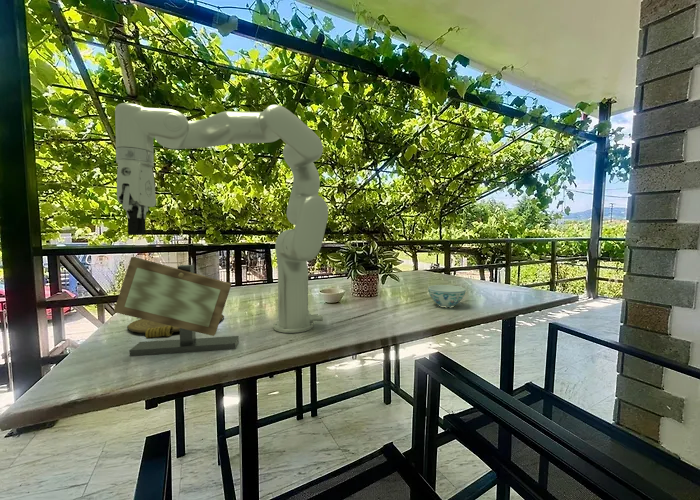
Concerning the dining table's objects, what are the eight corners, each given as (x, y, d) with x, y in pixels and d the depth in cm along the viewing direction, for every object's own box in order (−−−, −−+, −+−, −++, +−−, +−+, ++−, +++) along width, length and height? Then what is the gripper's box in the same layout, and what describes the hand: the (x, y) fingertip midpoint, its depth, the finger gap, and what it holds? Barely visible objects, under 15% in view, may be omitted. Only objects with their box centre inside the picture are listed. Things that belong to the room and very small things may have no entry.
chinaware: (471, 311, 124) (471, 291, 123) (432, 310, 124) (433, 291, 123) (458, 302, 139) (458, 284, 138) (424, 302, 139) (424, 284, 138)
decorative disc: (227, 305, 125) (217, 323, 96) (228, 314, 125) (217, 334, 96) (145, 310, 117) (107, 331, 88) (145, 319, 117) (107, 343, 88)
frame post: (238, 341, 89) (237, 263, 88) (235, 348, 83) (233, 266, 82) (140, 347, 84) (137, 265, 83) (129, 356, 78) (126, 268, 77)
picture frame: (215, 333, 84) (231, 283, 84) (213, 336, 82) (230, 284, 82) (117, 310, 79) (134, 256, 79) (112, 312, 76) (130, 257, 77)
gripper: (138, 152, 70) (140, 235, 71) (164, 166, 84) (165, 234, 85) (100, 150, 68) (102, 235, 69) (132, 164, 83) (134, 234, 84)
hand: (136, 234), depth 77 cm, fingers closed
